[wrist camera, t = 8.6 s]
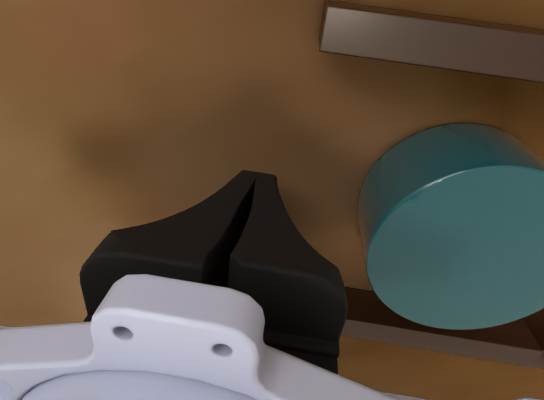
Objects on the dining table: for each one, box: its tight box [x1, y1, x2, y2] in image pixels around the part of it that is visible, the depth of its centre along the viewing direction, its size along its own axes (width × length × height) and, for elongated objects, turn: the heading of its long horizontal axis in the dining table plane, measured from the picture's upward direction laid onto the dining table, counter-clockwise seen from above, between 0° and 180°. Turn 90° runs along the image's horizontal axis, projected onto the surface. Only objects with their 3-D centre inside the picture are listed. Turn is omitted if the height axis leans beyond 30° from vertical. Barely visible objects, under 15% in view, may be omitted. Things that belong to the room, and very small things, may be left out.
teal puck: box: [357, 123, 544, 330], centre depth 13 cm, size 7×7×4 cm
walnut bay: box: [319, 0, 544, 369], centre depth 14 cm, size 13×13×2 cm
